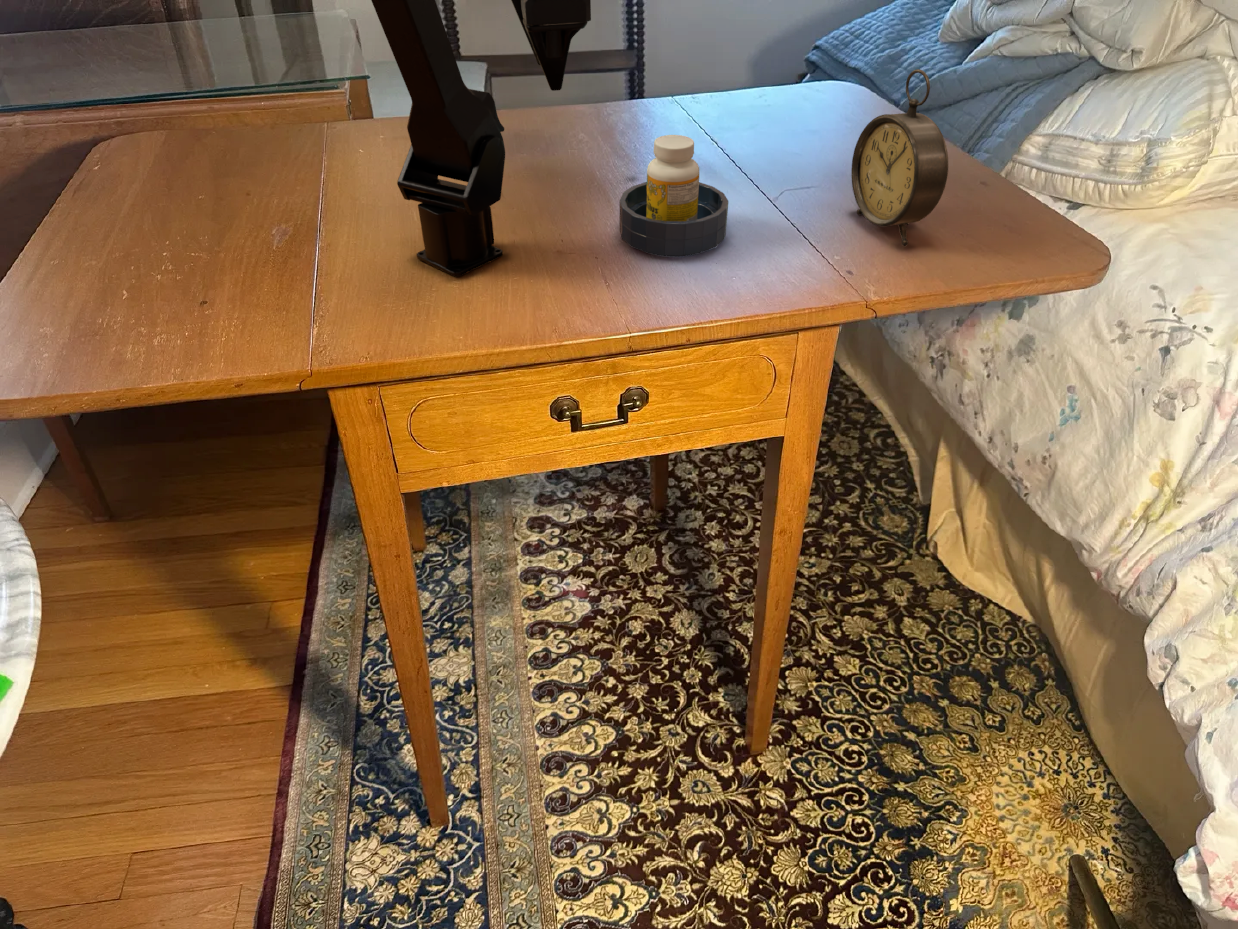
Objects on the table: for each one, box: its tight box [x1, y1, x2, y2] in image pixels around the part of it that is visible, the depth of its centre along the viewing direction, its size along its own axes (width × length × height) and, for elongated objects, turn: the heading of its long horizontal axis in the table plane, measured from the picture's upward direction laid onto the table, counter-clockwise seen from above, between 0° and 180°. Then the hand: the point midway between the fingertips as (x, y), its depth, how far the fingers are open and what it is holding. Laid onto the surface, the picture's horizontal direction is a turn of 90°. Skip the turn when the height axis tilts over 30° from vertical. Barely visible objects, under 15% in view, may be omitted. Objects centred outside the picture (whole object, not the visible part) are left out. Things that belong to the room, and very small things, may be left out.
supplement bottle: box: [646, 134, 700, 221], centre depth 89 cm, size 5×5×10 cm
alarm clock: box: [850, 68, 949, 247], centre depth 88 cm, size 11×5×16 cm, turn 21°
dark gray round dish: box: [618, 181, 729, 258], centre depth 91 cm, size 11×11×4 cm
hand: (549, 76), depth 93 cm, fingers open, 9 cm apart
